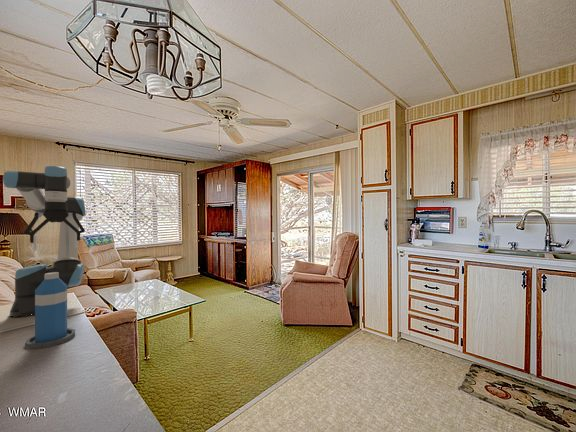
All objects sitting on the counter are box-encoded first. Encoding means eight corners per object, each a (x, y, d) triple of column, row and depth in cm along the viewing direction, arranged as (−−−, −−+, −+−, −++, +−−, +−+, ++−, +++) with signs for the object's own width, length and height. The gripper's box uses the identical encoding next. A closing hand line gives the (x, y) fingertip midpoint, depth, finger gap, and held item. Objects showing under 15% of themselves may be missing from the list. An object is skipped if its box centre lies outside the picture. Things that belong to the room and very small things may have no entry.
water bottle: (38, 347, 94) (38, 276, 95) (32, 340, 100) (32, 274, 100) (70, 337, 102) (70, 272, 102) (63, 331, 107) (63, 270, 108)
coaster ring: (29, 338, 102) (29, 334, 102) (76, 329, 111) (76, 325, 111) (21, 352, 91) (21, 348, 91) (73, 341, 99) (73, 337, 99)
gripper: (14, 200, 107) (14, 252, 107) (91, 201, 122) (91, 247, 122) (18, 200, 113) (18, 250, 113) (91, 202, 128) (91, 246, 128)
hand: (56, 249), depth 118 cm, fingers open, 13 cm apart
